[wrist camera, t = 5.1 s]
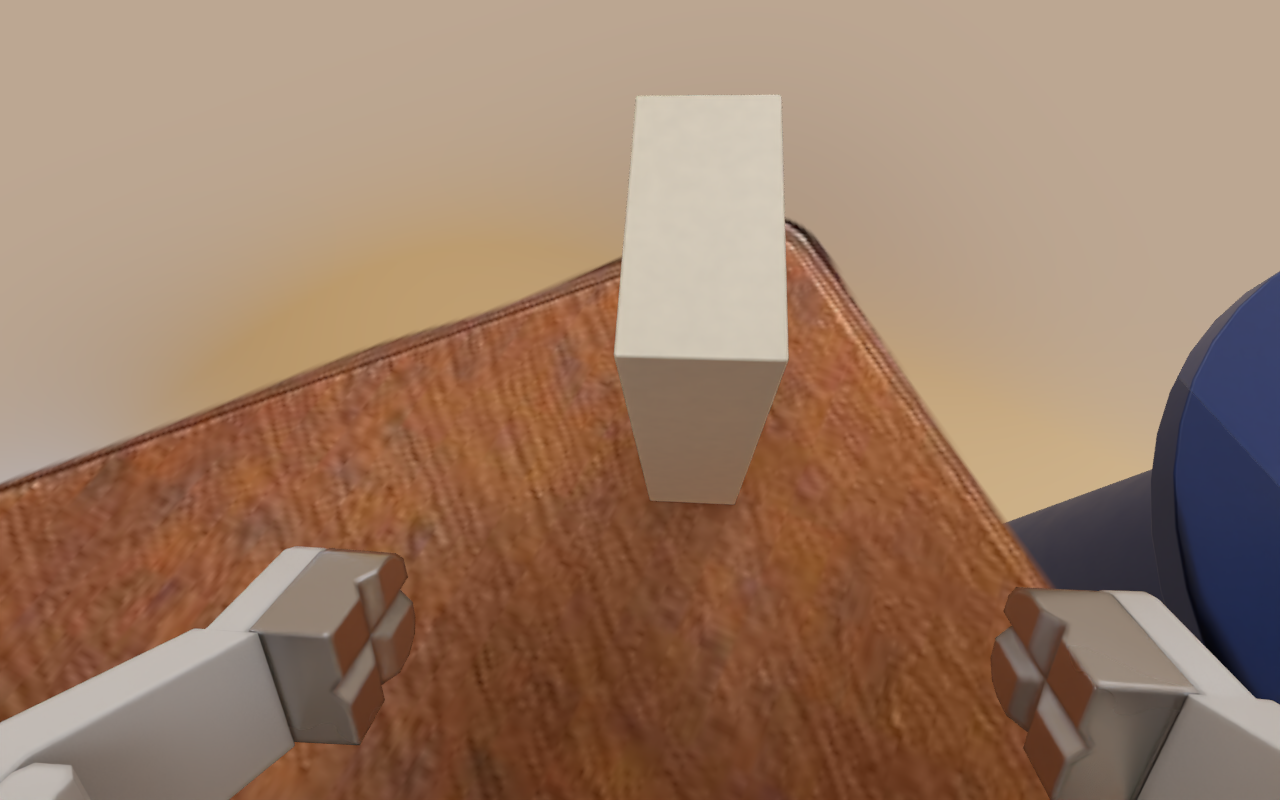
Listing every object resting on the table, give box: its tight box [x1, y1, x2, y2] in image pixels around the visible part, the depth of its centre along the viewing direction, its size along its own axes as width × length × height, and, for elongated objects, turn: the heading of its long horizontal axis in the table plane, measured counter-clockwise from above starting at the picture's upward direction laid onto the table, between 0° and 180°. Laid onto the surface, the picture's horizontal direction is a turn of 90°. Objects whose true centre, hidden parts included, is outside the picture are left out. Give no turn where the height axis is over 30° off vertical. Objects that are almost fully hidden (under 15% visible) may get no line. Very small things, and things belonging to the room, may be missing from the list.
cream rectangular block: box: [614, 95, 789, 505], centre depth 17 cm, size 3×6×12 cm, turn 176°
